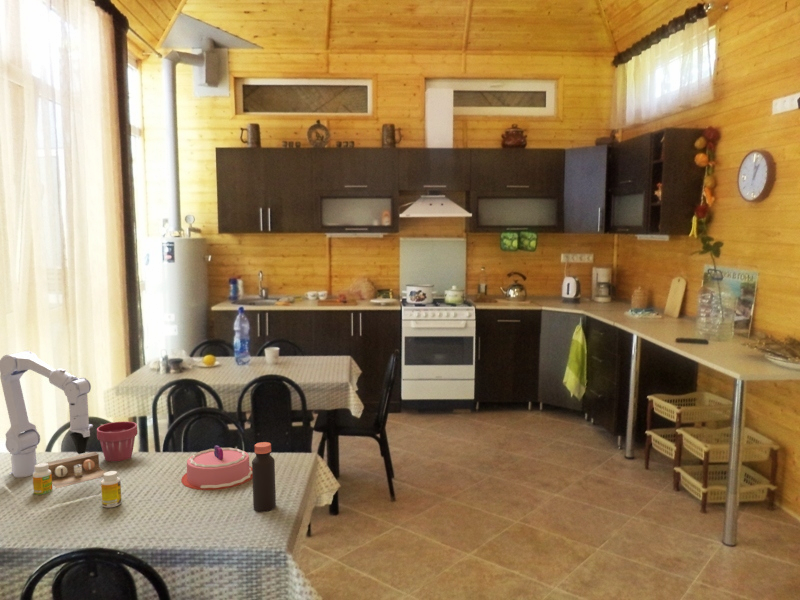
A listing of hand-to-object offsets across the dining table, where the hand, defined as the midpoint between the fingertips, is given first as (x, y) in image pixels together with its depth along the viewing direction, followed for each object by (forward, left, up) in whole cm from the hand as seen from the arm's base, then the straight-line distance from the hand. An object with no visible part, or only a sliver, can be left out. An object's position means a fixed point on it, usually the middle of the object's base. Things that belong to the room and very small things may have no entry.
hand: (81, 453), depth 218 cm
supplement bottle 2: (+28, 0, -10) cm, 30 cm away
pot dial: (-3, -1, -9) cm, 10 cm away
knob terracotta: (-10, +4, -9) cm, 14 cm away
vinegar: (+64, +33, -10) cm, 73 cm away
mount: (-5, 0, -10) cm, 11 cm away
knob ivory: (-10, -5, -9) cm, 14 cm away
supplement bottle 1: (+3, -13, -10) cm, 17 cm away
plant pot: (-14, +17, -10) cm, 24 cm away
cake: (+29, +36, -10) cm, 47 cm away
